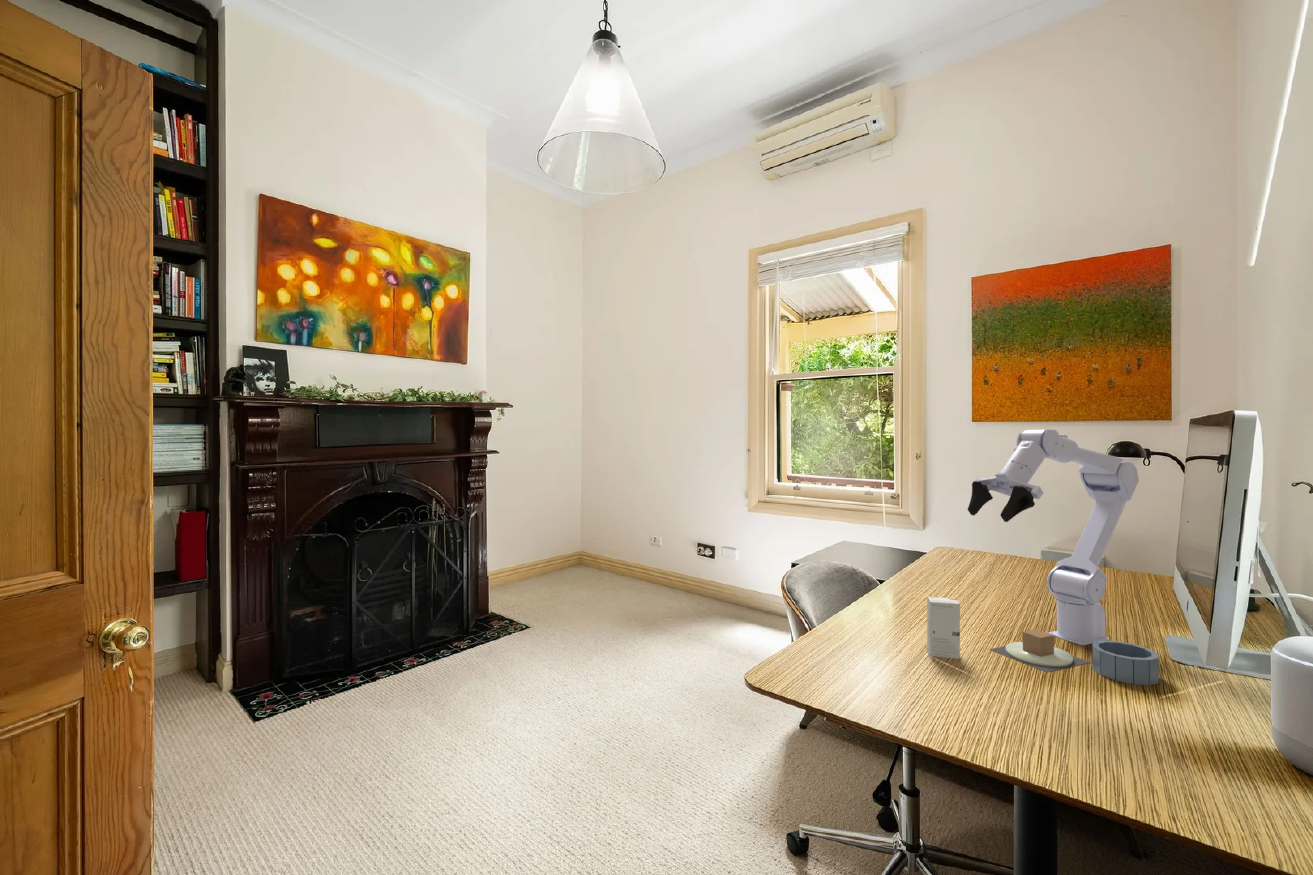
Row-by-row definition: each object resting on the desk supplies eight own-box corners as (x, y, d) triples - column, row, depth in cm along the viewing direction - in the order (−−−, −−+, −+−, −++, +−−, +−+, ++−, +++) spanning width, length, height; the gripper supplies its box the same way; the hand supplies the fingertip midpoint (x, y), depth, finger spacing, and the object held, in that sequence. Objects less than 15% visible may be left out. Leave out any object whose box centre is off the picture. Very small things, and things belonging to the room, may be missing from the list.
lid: (1031, 642, 128) (1031, 621, 128) (1086, 661, 116) (1086, 639, 116) (992, 649, 124) (992, 628, 124) (1046, 670, 112) (1045, 647, 112)
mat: (1031, 642, 128) (1031, 641, 128) (1091, 663, 116) (1091, 662, 116) (989, 650, 124) (989, 649, 124) (1046, 673, 112) (1046, 672, 112)
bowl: (1114, 661, 117) (1113, 637, 117) (1171, 680, 107) (1170, 655, 107) (1081, 668, 114) (1080, 644, 114) (1137, 689, 104) (1136, 662, 104)
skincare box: (930, 657, 121) (928, 601, 121) (926, 649, 125) (925, 596, 125) (961, 660, 119) (960, 603, 119) (957, 652, 124) (956, 597, 124)
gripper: (980, 455, 130) (948, 498, 126) (1044, 461, 116) (1011, 508, 113) (993, 476, 132) (963, 518, 129) (1058, 484, 119) (1026, 531, 115)
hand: (986, 515), depth 121 cm, fingers open, 7 cm apart
